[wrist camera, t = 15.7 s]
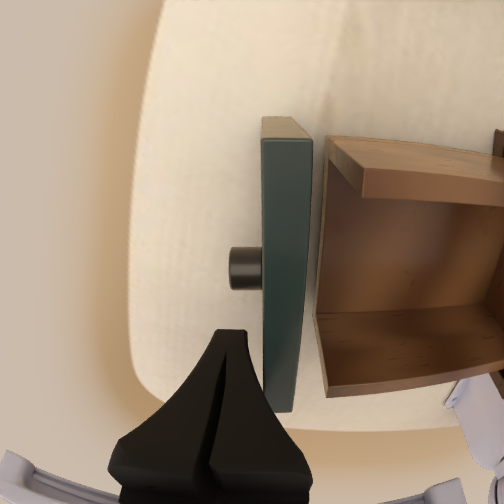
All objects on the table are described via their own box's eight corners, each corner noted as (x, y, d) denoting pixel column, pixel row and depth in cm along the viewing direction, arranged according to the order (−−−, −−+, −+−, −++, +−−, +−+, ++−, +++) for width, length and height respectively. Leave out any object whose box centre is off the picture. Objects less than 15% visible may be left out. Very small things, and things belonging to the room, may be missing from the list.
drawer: (241, 322, 17) (233, 412, 12) (231, 117, 12) (207, 139, 7) (475, 310, 16) (517, 375, 11) (520, 147, 11) (597, 186, 6)
